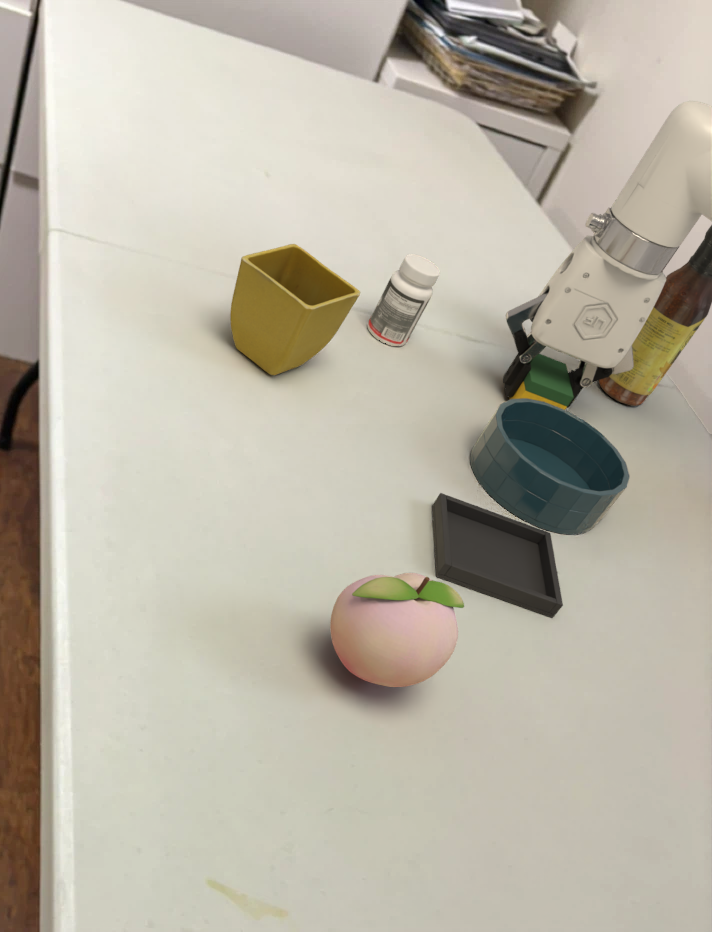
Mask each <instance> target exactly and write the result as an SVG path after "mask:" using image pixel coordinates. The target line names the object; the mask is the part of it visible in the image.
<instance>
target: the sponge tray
mask: <svg viewBox="0 0 712 932" xmlns="http://www.w3.org/2000/svg"><path fill="white" fill-rule="evenodd" d="M431 510H432V512H431V513H432V528H433V529H432V530H433V546H434V547H433V548H434V566H435V577H436V578H439V579H442V580H445V581H448V582H450V583H453V584H456V585H458V586H461V587H464V588H466V589H470V590H473V591H475V592H479V593H481V594H483V595H487V596H489V597H492V598H495V599H498V600H501V601H504V602H507V603H509V604H512V605H515V606H518V607H520V608H523V609H525V610H529V611H532V612H535V613H538V614H540V615H543V616H546V617H548V618H551V619H553V618H554V617H555V616H556V615H557V614H558V612H559V611H561V608H562V607H563V606H564V604H563V603H564V602H563V597H562V591H561V585H560V580H559V575H558V569H557V563H556V558H555V551H554V546H553V541H552V540H553V539H552V535H551V532H550V531H547V530H544V529H541V528H539V527H536V526H533V525H531V524H530V525H529V524H526V523H524V522H521V521H519V520H516V519H513V518H510V517H508V516H505V515H503V514H499V513H497V512H494V511H491V510H488V509H486V508H483V507H481V506H477V505H475V504H472V503H469V502H467V501H464V500H461V499H458V498H456V497H454V496H451V495H449V494H445V493H443V492H440V493H439V494H438V496H437V497H436V499H435V501H434V502H432V505H431Z"/></svg>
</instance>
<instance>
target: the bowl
mask: <svg viewBox="0 0 712 932" xmlns="http://www.w3.org/2000/svg"><path fill="white" fill-rule="evenodd" d="M469 463H470V467H471V470H472V472H473V474H474V477H475V478H476V480H477V481H478V483H479V485H480V486H481V487H482V488H483V489H484V491H485V492H486V493H487V494H488V495H489V496H490V497H491V498H492V499H493V500H494V501H495V502H497V503H498V504H499V506H501V507H503V508H504V509H505V510H507V511H508V512H510V513H511V514H513V515H514V516H515V517H516V518H519V519H521V520H522V521H524V522H526V523H528V524H530V525H531V526H534V527H536V528H538V529H541V530H544V531H547V532H550V533H551V532H553V533H556V534H560V535H574V536H575V535H581V534H584V533H587V532H589V531H591V530H593V529H594V528H595V527H596V526H597V524H599V523H600V522H601V520H602V519H603V518H604V517H605V515H607V513H608V512H609V511H610V509H611V508H612V507H613V505H614V504H615V503H616V502H617V501H618V500H619V498H620V497H621V495H622V494H623V493H624V491H625V490H626V489H627V488H628V484H629V481H630V473H629V469H628V465H627V462H626V461H625V459H624V457H623V456H622V454H621V453H620V452H619V449H617V447H616V446H615V445H614V444H613V443H612V442H611V441H609V439H608V438H607V437H606V436H605V435H604V434H603V433H602V432H601V431H599V430H598V429H596V427H594V426H592V425H591V424H590V423H588V421H586V420H584V419H582V418H580V417H579V416H577V415H575V414H573V413H571V412H569V411H568V410H566V409H565V410H564V409H562V408H559V407H556V406H554V405H551V404H549V403H546V402H543V401H538V400H533V399H528V398H521V399H510V400H509V399H508V400H506V401H504V402H501V403H500V404H499V406H498V407H497V409H496V410H495V412H494V413H493V415H492V417H491V418H490V420H489V421H488V423H487V424H486V426H485V428H484V429H483V431H482V432H481V434H480V435H479V437H478V438H477V440H476V442H475V444H474V445H473V447H472V449H471V451H470V455H469Z"/></svg>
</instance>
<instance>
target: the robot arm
mask: <svg viewBox="0 0 712 932" xmlns="http://www.w3.org/2000/svg"><path fill="white" fill-rule="evenodd" d="M701 216H704V218H706V219H707V220H709V221H710V222H712V105H710V104H708V103H705V102H701V101H698V100H688V101H683V102H681V103H679V104H678V105H677V106H676V107H674V108H673V109H672V110H671V111H670V113H669V115H668V116H667V117H666V119H665V121H664V122H663V123H662V125H661V127H660V128H659V130H658V131H657V133H656V135H655V137H654V138H653V140H652V141H651V143H650V144H649V146H648V148H647V150H646V151H645V152H644V154H643V156H641V159H640V160H639V161H638V163H637V165H636V167H635V168H634V170H633V172H632V173H631V175H630V176H629V178H628V180H627V182H625V184H624V186H623V188H622V189H621V191H620V192H619V193H618V195H617V198H616V199H615V200H614V202H613V204H612V205H611V207H608V208H607V209H606V210H605V212H604V213H602V214H601V213H600V214H597V213H595V212H591V213H590V214H589V216H588V217H587V218H586V221H585V225H584V226H585V228H587V229H590V230H591V232H593V235H589V234H588V235H586V236H585V237H584V238H583V239H582V240H581V241H580V242H578V244H577V245H576V246H575V247H574V248H573V250H572V251H571V252H570V253H568V256H566V258H565V259H564V261H563V262H562V263H561V264H560V265H559V267H558V268H557V269H556V270H555V272H554V273H553V274H552V276H551V277H550V279H549V280H548V281H547V283H546V284H545V285H544V287H543V289H542V290H541V292H540V293H539V295H538V296H536V297H535V298H533V299H530V300H528V301H526V302H524V303H522V304H520V305H517V306H515V307H514V308H512V309H510V310H508V311H507V312H506V313H505V321H506V324H507V326H508V328H509V331H510V333H511V335H512V337H513V341H514V344H515V347H516V351H517V354H516V355H515V357H514V358H513V360H512V362H511V363H510V364H509V367H507V370H506V371H505V373H504V374H503V377H502V383H503V385H504V387H503V388H504V392H505V393H504V394H505V397H507V398H508V399H509V398H511V397H513V396H514V395H515V393H516V391H517V390H518V388H519V387H520V385H521V384H522V382H523V381H524V379H525V377H526V376H527V374H528V373H529V371H530V370H531V361H532V360H533V359H534V358H535V357H536V356H537V355H538V354H541V352H542V351H543V350H545V349H546V348H549V349H551V350H554V351H557V352H559V353H561V354H564V355H566V356H569V357H572V358H574V359H576V360H579V361H578V365H577V368H576V369H575V370H574V369H571V370H570V371H568V375H569V379H570V384H571V388H572V392H573V396H574V398H573V399H572V401H571V402H570V404H569V405H568V406H567V408H566V409H569V408H570V407H571V406H572V404H573V403H574V402H575V400H576V399H577V397H578V396H579V394H580V393H581V391H582V390H583V389H584V388H588V387H590V386H591V385H592V383H595V382H599V380H601V379H604V378H607V377H609V376H610V375H611V374H618V373H622V372H626V371H630V370H632V369H633V367H634V362H633V350H632V344H633V342H634V341H635V339H636V337H637V336H638V334H639V332H640V331H641V329H642V327H643V326H644V324H645V322H646V320H647V319H648V317H649V315H650V313H651V311H652V309H653V307H654V305H655V303H656V301H657V300H658V298H659V295H660V293H661V291H662V289H663V287H664V284H665V282H666V277H667V275H665V272H664V270H665V269H666V267H667V266H668V264H669V262H670V261H671V260H672V258H673V257H674V255H675V254H676V253H677V251H678V250H679V248H680V247H681V246H682V244H683V243H684V241H685V240H686V239H687V237H688V235H689V234H690V232H691V231H692V230H693V228H694V227H695V225H696V224H697V222H698V221H699V219H700V218H701ZM527 320H529V321H530V322H531V326H530V332H529V333H528V334H527V332H526V328H525V326H524V324H523V323H524V322H525V321H527Z"/></svg>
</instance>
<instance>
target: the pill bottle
mask: <svg viewBox="0 0 712 932" xmlns="http://www.w3.org/2000/svg"><path fill="white" fill-rule="evenodd" d="M440 274H441V271H440V268H439V267H438V266H437V265H436V263H434V262H433V261H431V260H430V259H428V258H427V257H424V256H422V255H419V254H415V253H408V254H407V255H405V256H404V259H403V260H402V262H401V264H400V266H399V269H398V270H396V271H394V272H393V273H392V275H391V276H390V278H389V280H388V282H387V284H386V286H385V288H384V290H383V292H382V293H381V296H380V298H379V300H378V302H377V304H376V306H375V308H374V310H373V312H372V314H371V316H370V318H369V320H368V322H367V329H368V331H369V333H370V334H371V335H372V336H373V337H374V338H375V339H376V340H377V341H379V340H380V341H379V342H380V343H383V344H385V343H386V344H385V345H387V346H390V347H391V346H392V347H402V346H404V345H406V344H407V343H408V341H409V339H410V338H411V335H412V334H413V332H414V330H415V328H416V326H417V325H418V322H419V320H420V319H421V317H422V315H423V313H424V311H425V310H426V308H427V306H428V304H429V302H430V300H431V298H432V297H433V292H434V289H433V286H434V285H435V284H436V283H437V281H438V278H439V276H440Z"/></svg>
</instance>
